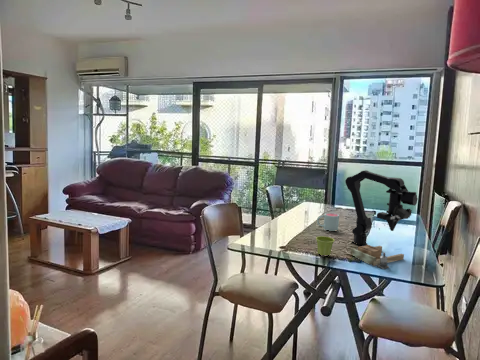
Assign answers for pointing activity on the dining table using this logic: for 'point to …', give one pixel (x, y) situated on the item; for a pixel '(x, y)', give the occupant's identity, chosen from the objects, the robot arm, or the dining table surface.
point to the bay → (373, 260)
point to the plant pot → (324, 245)
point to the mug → (330, 221)
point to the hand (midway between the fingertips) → (391, 230)
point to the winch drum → (383, 262)
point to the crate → (370, 251)
